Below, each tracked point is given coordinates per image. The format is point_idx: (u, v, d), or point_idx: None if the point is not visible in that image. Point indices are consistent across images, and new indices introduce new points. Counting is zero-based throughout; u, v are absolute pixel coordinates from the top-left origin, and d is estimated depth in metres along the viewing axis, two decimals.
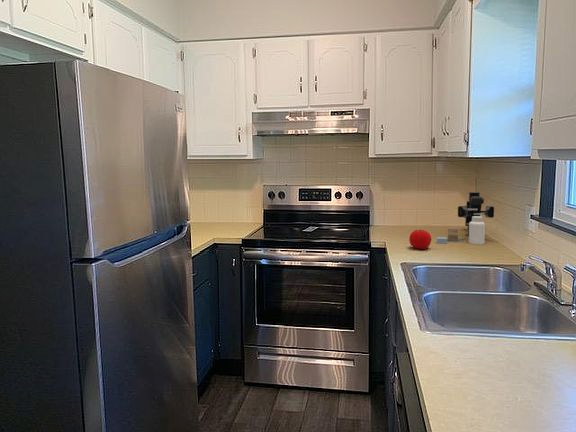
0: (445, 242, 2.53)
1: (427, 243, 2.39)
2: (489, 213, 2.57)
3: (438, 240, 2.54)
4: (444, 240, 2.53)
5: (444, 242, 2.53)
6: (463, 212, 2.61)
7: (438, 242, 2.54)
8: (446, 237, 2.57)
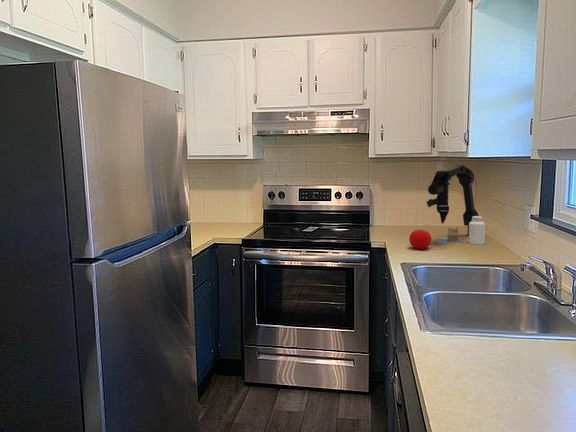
0: (445, 242, 2.53)
1: (427, 243, 2.39)
2: (444, 211, 2.47)
3: (438, 240, 2.54)
4: (444, 240, 2.53)
5: (444, 242, 2.53)
6: None
7: (438, 242, 2.54)
8: (446, 237, 2.57)
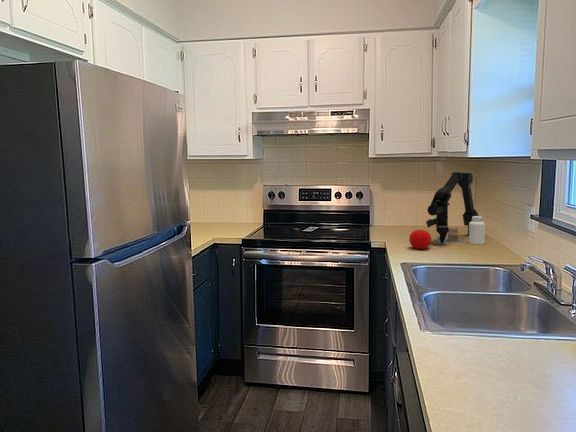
0: (445, 242, 2.53)
1: (427, 243, 2.39)
2: (443, 231, 2.50)
3: (438, 240, 2.54)
4: (444, 240, 2.53)
5: (444, 242, 2.53)
6: None
7: (438, 242, 2.54)
8: (446, 237, 2.57)
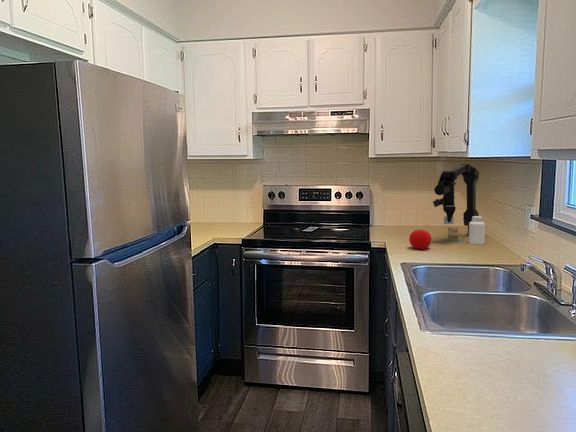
0: (452, 221, 2.56)
1: (427, 243, 2.39)
2: (450, 211, 2.53)
3: (445, 219, 2.57)
4: (451, 219, 2.56)
5: (451, 221, 2.56)
6: None
7: (445, 221, 2.57)
8: (453, 216, 2.60)
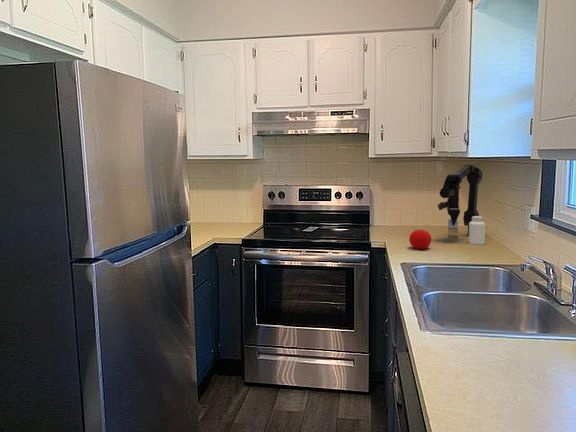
0: (456, 224, 2.58)
1: (427, 243, 2.39)
2: (455, 214, 2.56)
3: (449, 222, 2.60)
4: None
5: (455, 224, 2.59)
6: None
7: (449, 224, 2.60)
8: None
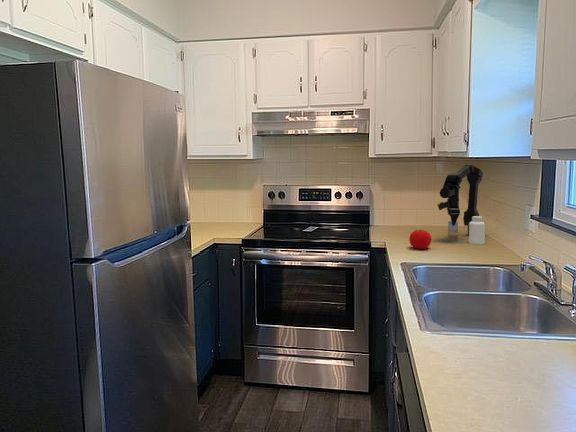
0: (456, 226, 2.59)
1: (427, 243, 2.39)
2: (455, 214, 2.54)
3: (449, 224, 2.60)
4: (455, 224, 2.59)
5: (455, 226, 2.59)
6: None
7: (449, 226, 2.60)
8: (457, 221, 2.62)
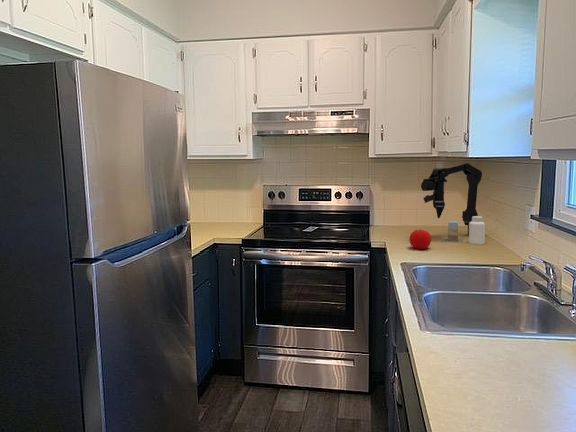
0: (456, 226, 2.59)
1: (427, 243, 2.39)
2: (440, 207, 2.61)
3: (449, 224, 2.60)
4: (455, 224, 2.59)
5: (455, 226, 2.59)
6: None
7: (449, 226, 2.60)
8: (457, 221, 2.62)
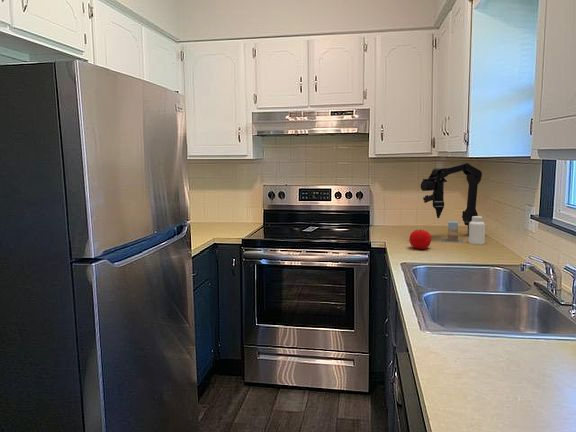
0: (456, 226, 2.59)
1: (427, 243, 2.39)
2: None
3: (449, 224, 2.60)
4: (455, 224, 2.59)
5: (455, 226, 2.59)
6: None
7: (449, 226, 2.60)
8: (457, 221, 2.62)
